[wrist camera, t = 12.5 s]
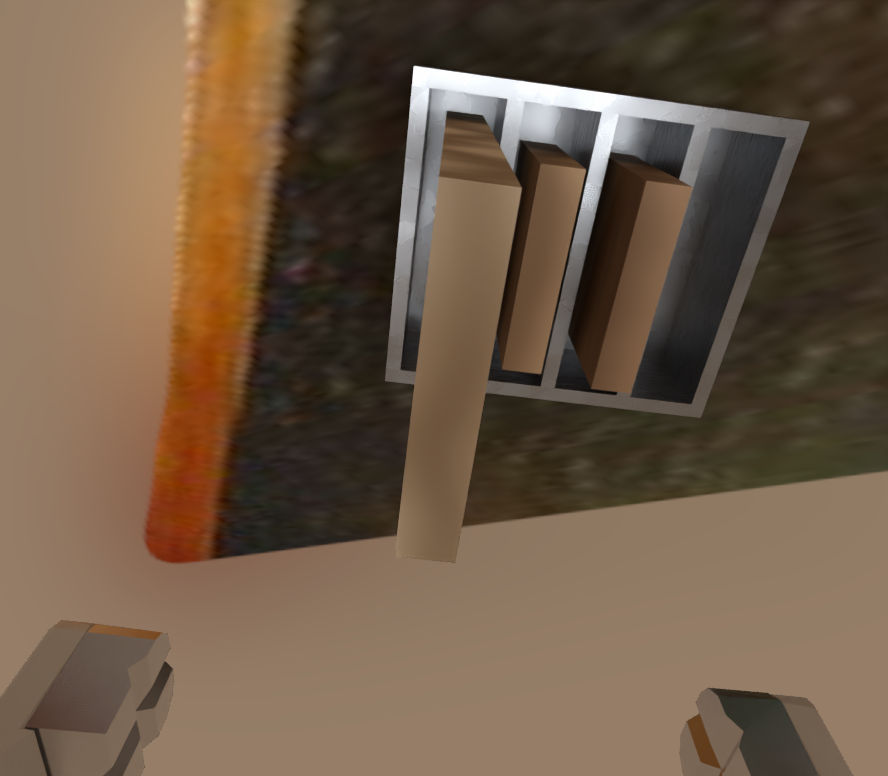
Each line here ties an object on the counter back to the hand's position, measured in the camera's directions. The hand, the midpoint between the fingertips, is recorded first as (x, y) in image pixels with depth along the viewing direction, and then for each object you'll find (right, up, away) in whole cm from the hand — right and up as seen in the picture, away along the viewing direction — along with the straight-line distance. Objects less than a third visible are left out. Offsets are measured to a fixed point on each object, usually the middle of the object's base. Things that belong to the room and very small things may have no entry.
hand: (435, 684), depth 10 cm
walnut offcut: (+9, +13, +28) cm, 32 cm away
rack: (+7, +14, +29) cm, 33 cm away
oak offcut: (+5, +14, +28) cm, 31 cm away
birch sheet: (+1, +14, +28) cm, 31 cm away
